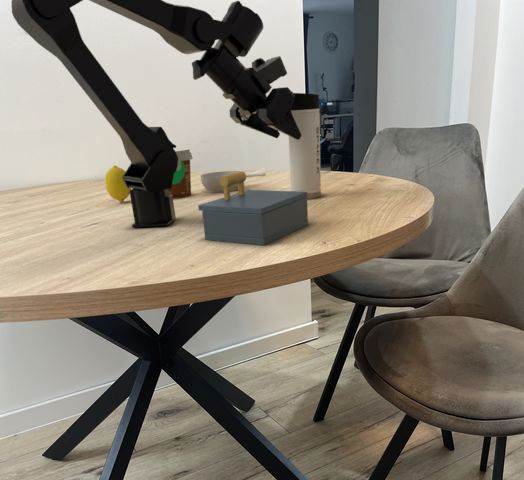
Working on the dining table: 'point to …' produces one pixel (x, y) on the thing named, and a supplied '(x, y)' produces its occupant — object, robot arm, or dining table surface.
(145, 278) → the dining table surface
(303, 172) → the travel mug
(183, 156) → the food container
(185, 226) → the dining table surface
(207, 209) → the lid
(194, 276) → the dining table surface
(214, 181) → the saucepan
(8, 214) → the dining table surface
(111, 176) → the lemon
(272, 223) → the box
